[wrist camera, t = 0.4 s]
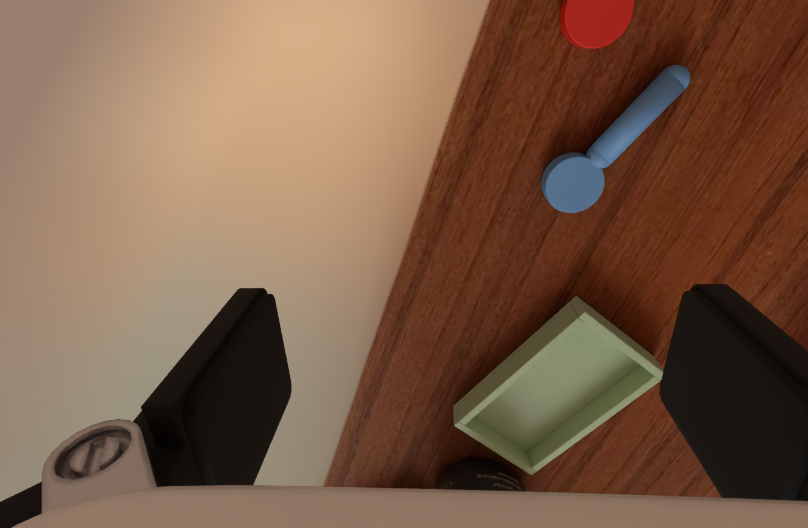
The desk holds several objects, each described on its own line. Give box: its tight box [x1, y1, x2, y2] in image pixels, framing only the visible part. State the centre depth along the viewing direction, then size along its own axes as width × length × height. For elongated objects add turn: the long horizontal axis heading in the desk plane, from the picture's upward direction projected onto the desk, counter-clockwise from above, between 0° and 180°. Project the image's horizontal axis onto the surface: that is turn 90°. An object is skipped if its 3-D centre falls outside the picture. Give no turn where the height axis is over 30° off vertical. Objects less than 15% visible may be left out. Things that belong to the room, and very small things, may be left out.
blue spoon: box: [541, 65, 690, 213], centre depth 30 cm, size 11×4×2 cm, turn 143°
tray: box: [453, 296, 664, 475], centre depth 39 cm, size 15×9×2 cm, turn 143°
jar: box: [434, 460, 527, 492], centre depth 43 cm, size 10×10×8 cm
